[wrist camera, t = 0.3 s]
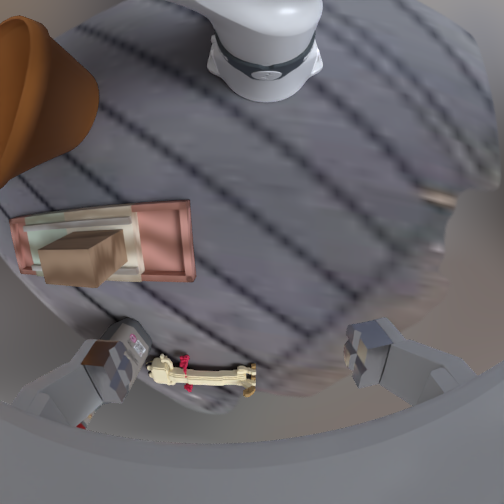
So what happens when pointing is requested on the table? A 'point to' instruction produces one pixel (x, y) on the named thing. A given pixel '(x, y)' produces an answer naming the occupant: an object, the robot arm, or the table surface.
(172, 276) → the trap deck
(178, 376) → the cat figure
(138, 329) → the liquor
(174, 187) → the table surface
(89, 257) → the walnut block
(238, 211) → the table surface
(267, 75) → the robot arm
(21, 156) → the flowerpot
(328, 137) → the table surface
